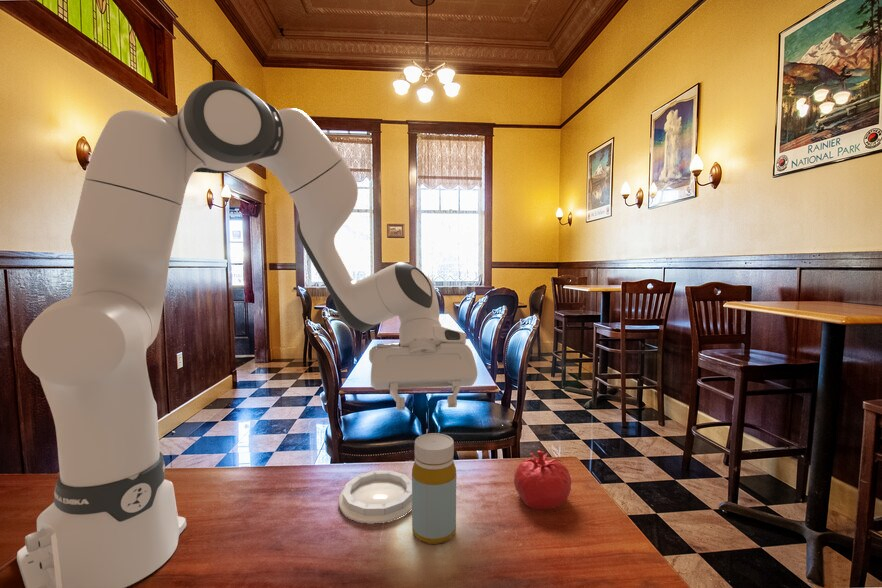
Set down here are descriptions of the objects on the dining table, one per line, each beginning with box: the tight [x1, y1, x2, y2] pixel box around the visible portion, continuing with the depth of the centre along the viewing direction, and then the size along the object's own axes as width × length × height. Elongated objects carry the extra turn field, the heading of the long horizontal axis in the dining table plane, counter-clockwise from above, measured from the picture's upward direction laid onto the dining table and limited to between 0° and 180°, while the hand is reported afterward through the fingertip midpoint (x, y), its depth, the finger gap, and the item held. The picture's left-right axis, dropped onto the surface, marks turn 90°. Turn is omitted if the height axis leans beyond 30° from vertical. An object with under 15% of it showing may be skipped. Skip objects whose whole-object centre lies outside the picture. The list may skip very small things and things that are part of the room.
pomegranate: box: [513, 450, 572, 510], centre depth 76 cm, size 10×10×9 cm
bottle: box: [411, 432, 457, 545], centre depth 66 cm, size 7×7×15 cm
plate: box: [338, 469, 412, 525], centre depth 76 cm, size 14×14×2 cm
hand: (426, 407), depth 76 cm, fingers open, 8 cm apart
